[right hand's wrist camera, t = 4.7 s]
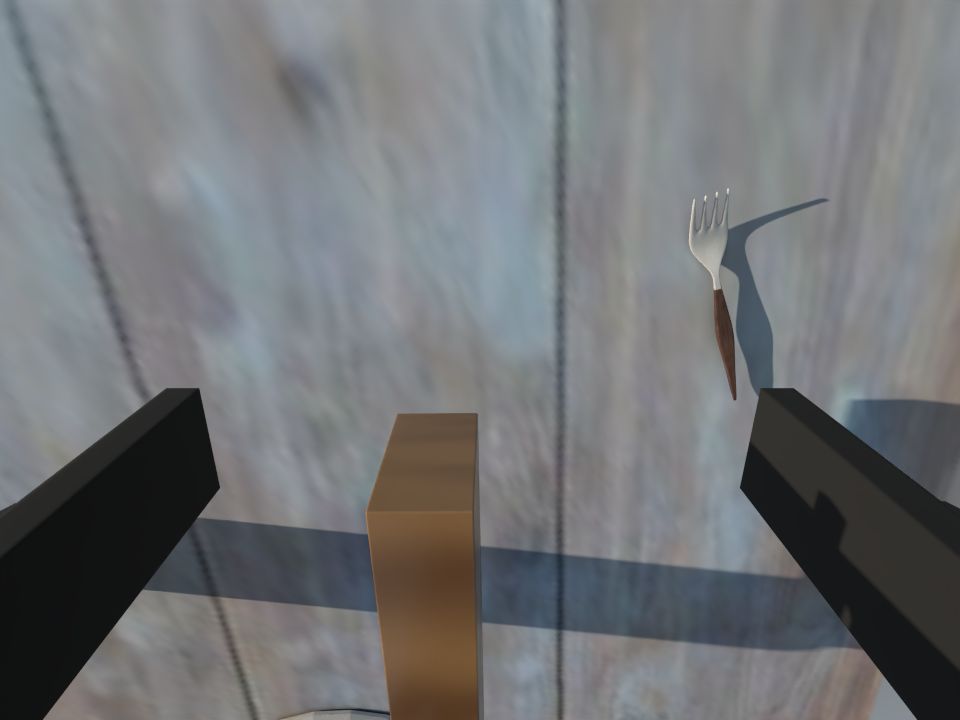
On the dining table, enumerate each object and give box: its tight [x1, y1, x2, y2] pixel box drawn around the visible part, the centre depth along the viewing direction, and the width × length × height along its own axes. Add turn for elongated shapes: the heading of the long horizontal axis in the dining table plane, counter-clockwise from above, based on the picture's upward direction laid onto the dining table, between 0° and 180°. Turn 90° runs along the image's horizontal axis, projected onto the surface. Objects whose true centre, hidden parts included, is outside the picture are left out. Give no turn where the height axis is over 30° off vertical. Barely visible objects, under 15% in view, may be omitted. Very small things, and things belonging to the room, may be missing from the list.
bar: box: [365, 413, 484, 720], centre depth 32 cm, size 26×5×9 cm, turn 1°
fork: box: [689, 188, 736, 400], centre depth 38 cm, size 3×16×2 cm, turn 18°
